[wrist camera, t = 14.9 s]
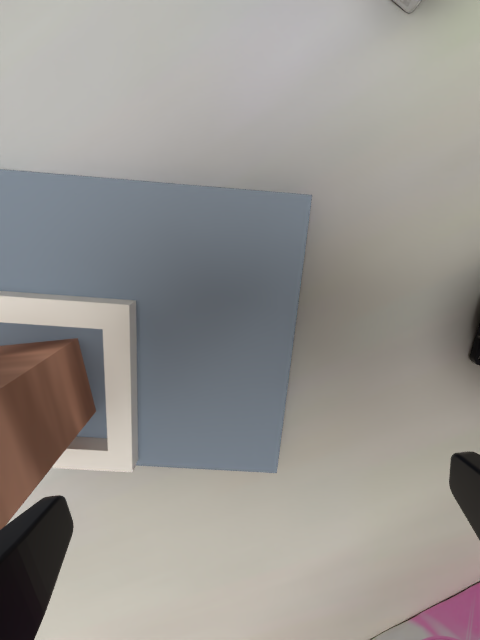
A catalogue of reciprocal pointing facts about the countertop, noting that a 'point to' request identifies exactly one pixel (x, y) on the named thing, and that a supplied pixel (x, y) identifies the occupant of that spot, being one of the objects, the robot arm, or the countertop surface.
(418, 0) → the light bulb box
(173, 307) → the board
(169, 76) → the countertop surface
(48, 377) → the terracotta block
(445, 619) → the gum box
